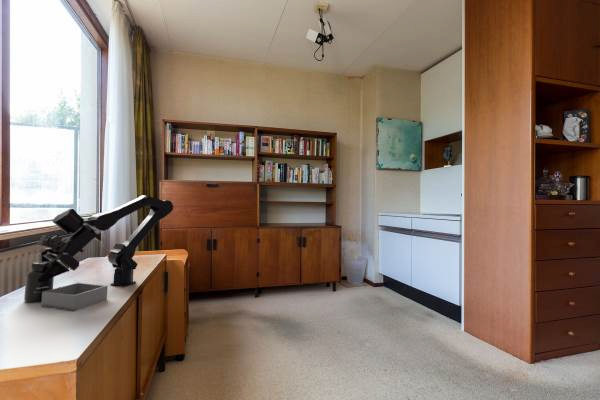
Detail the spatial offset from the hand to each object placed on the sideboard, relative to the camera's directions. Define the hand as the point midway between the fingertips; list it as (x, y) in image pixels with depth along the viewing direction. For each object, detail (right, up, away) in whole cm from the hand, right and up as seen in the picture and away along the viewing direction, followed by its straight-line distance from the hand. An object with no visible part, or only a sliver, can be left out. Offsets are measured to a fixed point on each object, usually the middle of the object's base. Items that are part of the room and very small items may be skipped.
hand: (34, 279), depth 95 cm
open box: (+13, -7, 0) cm, 15 cm away
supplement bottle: (0, -7, +1) cm, 7 cm away
